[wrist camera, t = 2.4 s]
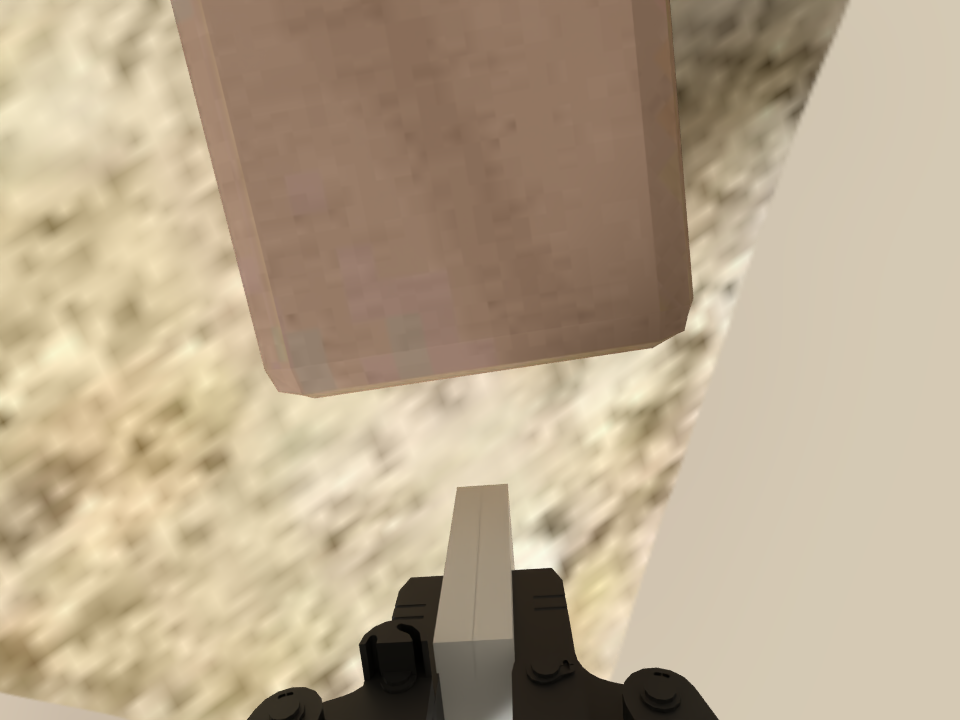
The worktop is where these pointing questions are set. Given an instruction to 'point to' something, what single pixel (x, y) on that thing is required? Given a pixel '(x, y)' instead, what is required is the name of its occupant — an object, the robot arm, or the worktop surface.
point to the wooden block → (444, 181)
